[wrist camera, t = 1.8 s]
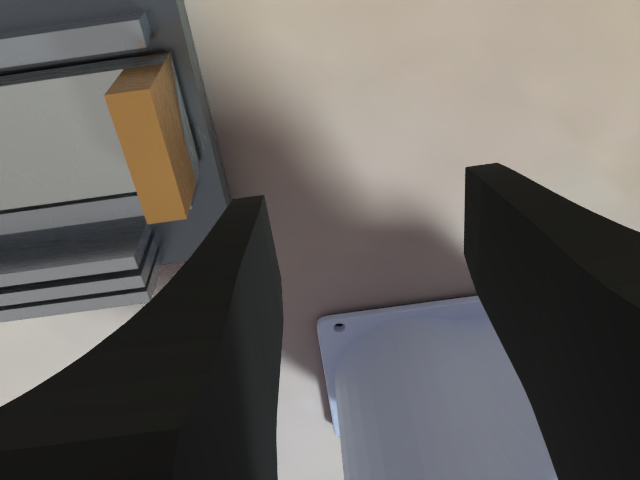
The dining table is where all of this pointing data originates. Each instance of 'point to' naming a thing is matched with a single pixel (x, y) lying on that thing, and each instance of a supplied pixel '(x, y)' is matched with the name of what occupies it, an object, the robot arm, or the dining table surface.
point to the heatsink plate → (113, 210)
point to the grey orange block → (98, 136)
